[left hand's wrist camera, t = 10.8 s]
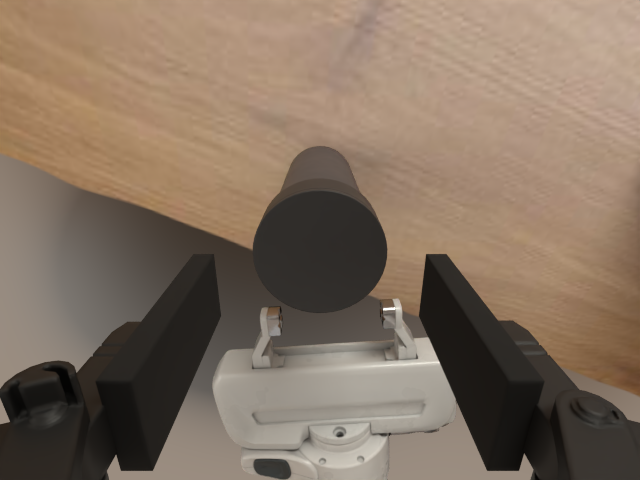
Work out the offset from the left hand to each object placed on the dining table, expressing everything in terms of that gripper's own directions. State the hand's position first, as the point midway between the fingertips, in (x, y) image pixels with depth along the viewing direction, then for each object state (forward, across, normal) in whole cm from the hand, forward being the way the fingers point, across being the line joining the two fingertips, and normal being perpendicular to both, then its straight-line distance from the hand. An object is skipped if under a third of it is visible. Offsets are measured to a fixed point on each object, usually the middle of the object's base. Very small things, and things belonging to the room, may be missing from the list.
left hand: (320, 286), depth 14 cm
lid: (+3, 0, 0) cm, 3 cm away
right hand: (+12, -1, +9) cm, 15 cm away
